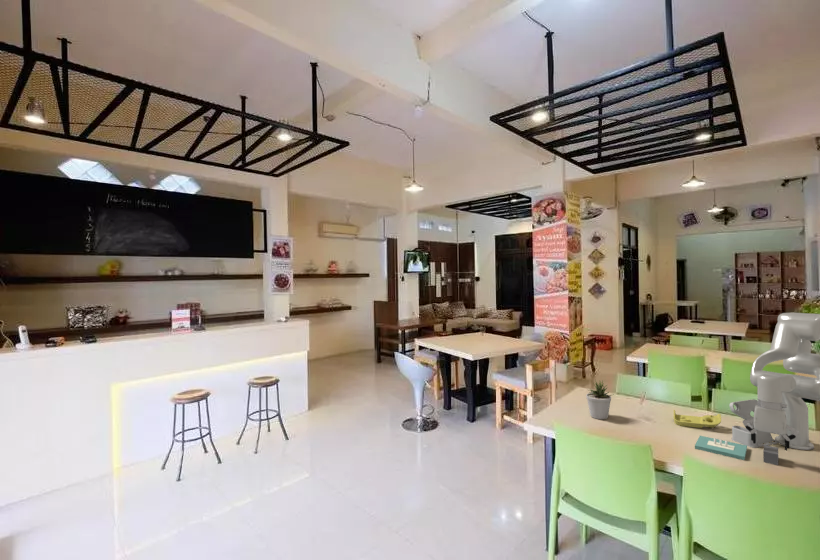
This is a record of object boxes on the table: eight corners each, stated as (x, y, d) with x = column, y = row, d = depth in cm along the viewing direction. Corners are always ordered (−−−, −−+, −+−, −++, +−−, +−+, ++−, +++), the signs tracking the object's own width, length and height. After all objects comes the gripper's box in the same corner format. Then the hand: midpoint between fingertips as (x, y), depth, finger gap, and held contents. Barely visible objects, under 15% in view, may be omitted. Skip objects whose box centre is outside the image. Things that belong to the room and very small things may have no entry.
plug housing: (763, 462, 161) (763, 451, 161) (764, 455, 167) (764, 444, 167) (778, 465, 158) (777, 454, 158) (778, 458, 164) (778, 447, 164)
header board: (699, 438, 185) (699, 430, 185) (747, 448, 173) (746, 440, 173) (694, 448, 175) (694, 439, 175) (744, 460, 163) (744, 450, 163)
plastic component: (673, 421, 201) (673, 407, 209) (675, 431, 204) (675, 418, 211) (722, 426, 189) (720, 411, 197) (723, 437, 192) (721, 422, 199)
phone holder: (752, 448, 173) (751, 408, 173) (728, 439, 183) (728, 401, 183) (781, 443, 178) (780, 404, 177) (756, 434, 187) (755, 397, 187)
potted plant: (618, 420, 210) (617, 383, 210) (592, 421, 210) (591, 384, 210) (607, 412, 222) (606, 377, 222) (582, 413, 223) (582, 378, 222)
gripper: (798, 407, 158) (799, 449, 158) (743, 398, 171) (743, 437, 170) (799, 411, 153) (799, 455, 153) (741, 402, 165) (741, 442, 165)
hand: (769, 446), depth 162 cm, fingers open, 9 cm apart
